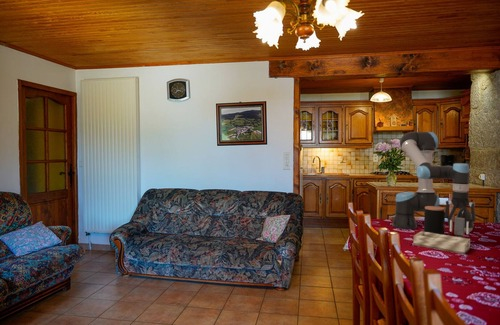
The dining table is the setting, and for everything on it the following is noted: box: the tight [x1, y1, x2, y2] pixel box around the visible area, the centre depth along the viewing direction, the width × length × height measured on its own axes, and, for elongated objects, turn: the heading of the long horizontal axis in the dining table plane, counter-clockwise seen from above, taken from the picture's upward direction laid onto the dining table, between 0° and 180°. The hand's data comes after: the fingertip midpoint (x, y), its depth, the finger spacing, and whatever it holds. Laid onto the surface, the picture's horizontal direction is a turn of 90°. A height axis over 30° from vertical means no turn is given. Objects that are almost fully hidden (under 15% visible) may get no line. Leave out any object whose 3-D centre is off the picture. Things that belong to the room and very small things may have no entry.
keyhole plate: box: [412, 230, 471, 255], centre depth 178 cm, size 24×14×5 cm, turn 47°
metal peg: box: [453, 217, 465, 238], centre depth 183 cm, size 5×5×14 cm
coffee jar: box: [423, 206, 446, 235], centre depth 197 cm, size 11×11×18 cm
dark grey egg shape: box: [455, 208, 474, 234], centre depth 211 cm, size 10×10×15 cm
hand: (459, 232), depth 183 cm, fingers open, 7 cm apart
